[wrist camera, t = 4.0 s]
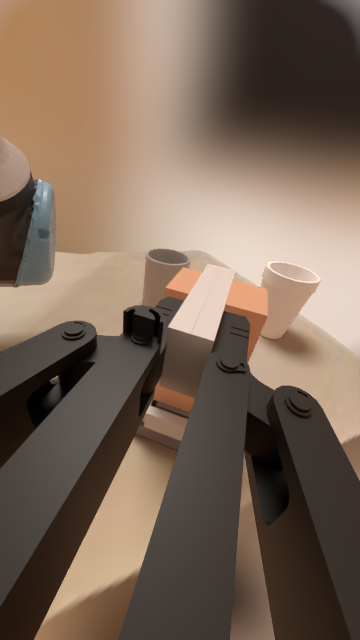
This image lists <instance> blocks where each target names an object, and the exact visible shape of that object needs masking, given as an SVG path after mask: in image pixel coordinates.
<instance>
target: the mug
mask: <svg viewBox="0 0 360 640" xmlns="http://www.w3.org/2000/svg"><path fill="white" fill-rule="evenodd" d="M189 265H190V258H189V257H188V256H187V255H185V254H184V253H181V252H179V251H175V250H170V249H153V250H150V251H148V252H147V254H146V265H145V278H144V291H143V305H144V306H150V307H153V308H154V307H156V305H157V304H158V303H159V301H160V300H162V299H164V294H165V287H166V286H167V285H168V284H169V283H170V282H171V281H172V279H173V278H174V277H175V276H176V275H177V274H178V273H179V271H180V270H181V269H182V268H183V267H184V268H188V269H189Z"/></svg>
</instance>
